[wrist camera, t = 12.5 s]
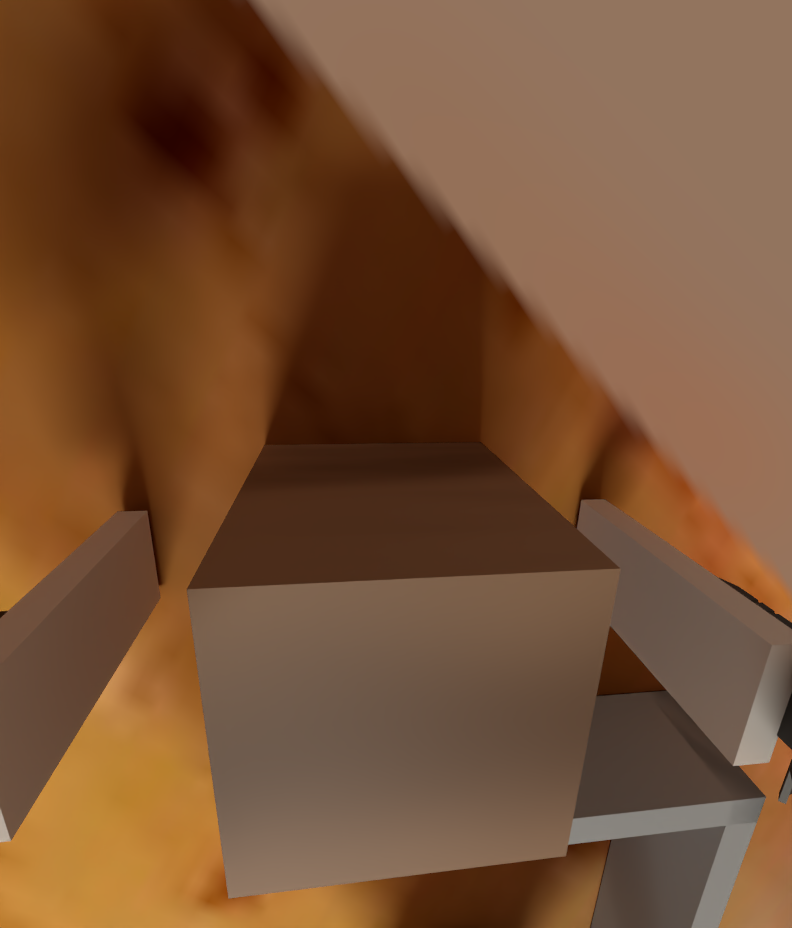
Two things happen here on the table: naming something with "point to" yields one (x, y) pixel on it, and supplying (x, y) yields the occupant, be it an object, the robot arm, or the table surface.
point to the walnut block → (394, 665)
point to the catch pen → (661, 814)
